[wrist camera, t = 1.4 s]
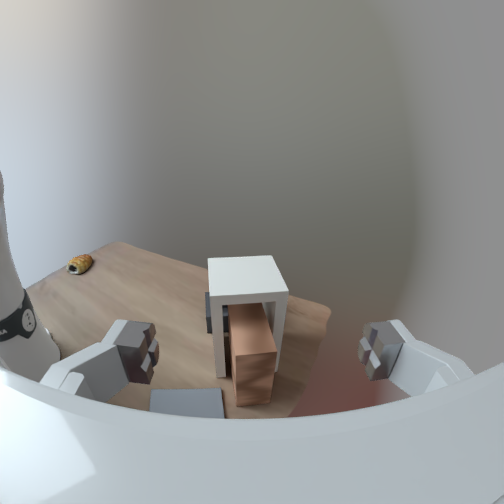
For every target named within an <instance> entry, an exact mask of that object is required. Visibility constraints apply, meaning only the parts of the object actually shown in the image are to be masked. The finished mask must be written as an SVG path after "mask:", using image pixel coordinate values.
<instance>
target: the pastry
mask: <svg viewBox="0 0 504 504" xmlns="http://www.w3.org/2000/svg"><path fill="white" fill-rule="evenodd" d="M91 264H92V257H91V256H89V255H86V254H84V255H81V256H78V257H75V258H73V259H72V260H70V261H69V263H68V265H67V269H66V270H67V272H69V273H70V274H81V273H83V272H85V270H86V269H88V268H89V267H90V265H91Z"/></svg>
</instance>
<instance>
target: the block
mask: <svg viewBox="0 0 504 504" xmlns="http://www.w3.org/2000/svg"><path fill="white" fill-rule="evenodd" d="M228 331H229V358H230V366H231V373H232V380H233V386H234V393H235V399H236V406H237V407H238V406H248V405H257V404H265V403H270V399H271V392H272V386H273V379H274V372H275V365H276V358H277V349H276V345H275V342H274V339H273V336H272V333H271V330H270V327H269V324H268V320H267V317H266V314H265V311H264V308H263V305H262V302H261V303H248V304H233V305H228Z"/></svg>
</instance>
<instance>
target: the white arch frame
mask: <svg viewBox="0 0 504 504" xmlns="http://www.w3.org/2000/svg"><path fill="white" fill-rule="evenodd" d="M208 272H209V293H210V308H211V322H212V334H213V345H214V356H215V366H216V376H217V378H219V377H226V371H225V354H224V335H223V313H222V305H232V304H247V303H261V302H262V305H263V308H264V311H265V314H266V317H267V320H268V324H269V327H270V330H271V333H272V336H273V339H274V342H275V345H276V349H277V358H276V365H275V372H277V371H278V365H279V358H280V351H281V344H282V338H283V330H284V323H285V316H286V308H287V300H288V292H289V291H288V288H287V286H286V284H285V282H284V280H283V278H282V276H281V274H280V272H279V270H278V268H277V266H276V264H275V262H274V260H273V258H272V256H251V257H230V258H208Z"/></svg>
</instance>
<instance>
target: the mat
mask: <svg viewBox="0 0 504 504" xmlns="http://www.w3.org/2000/svg"><path fill="white" fill-rule="evenodd" d="M149 412H155V413H162V414H169V415H178V416H188V417H201V418H219V419H224V411H223V402H222V393H221V388H207V389H151V398H150V409H149Z"/></svg>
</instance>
